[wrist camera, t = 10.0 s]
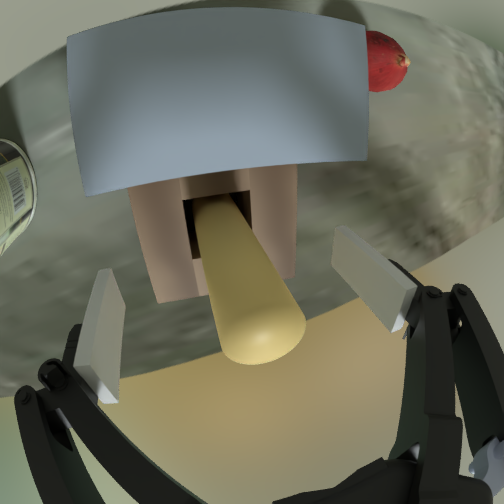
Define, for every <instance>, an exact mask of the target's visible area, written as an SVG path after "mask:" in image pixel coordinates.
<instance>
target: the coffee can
mask: <svg viewBox="0 0 504 504" xmlns="http://www.w3.org/2000/svg"><path fill="white" fill-rule="evenodd" d="M36 202H37V186H36V179H35V174H34V171H33V168H32V165H31V163H30V161H29V159H28V157H27V155H26V154H25V153H24V152H23V150H22V149H21V148H20V147H19V146H18V145H17V144H15V143H14V142H12V141H9V140H6V139H0V256H1V255H2V254H3V253H4V251H5V250H6V249H7V248H8V247H9V245H10V244H11V243H12V242H13V241H14V240H15V239H16V237H17V236H18V235H19V234H21V233H22V232H23V231H24V230H25V229H26V228H27V227H28V225H29V223H30V222H31V220H32V218H33V215H34V212H35V208H36Z"/></svg>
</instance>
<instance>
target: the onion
mask: <svg viewBox="0 0 504 504" xmlns="http://www.w3.org/2000/svg"><path fill="white" fill-rule="evenodd" d="M366 42H367V57H368V82H369V91H373V92H380V91H386V90H391V89H393V88H395V87H396V86H397V85H398V84H399V83H400V82H401V81H402V80H403V78H404V76H405V74H406V72H407V66H409V64H410V63H411V62H410V60H409V59H408V57H407V56H406V54H405V52H404V50H403V49H402V48H401V46H400V45H399V44H398V43H397V42H396V41H395V40H394V39H393V38H391V37H389V36H387V35H385V34H383V33H381V32H377V31H366Z"/></svg>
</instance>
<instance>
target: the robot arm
mask: <svg viewBox="0 0 504 504" xmlns="http://www.w3.org/2000/svg"><path fill="white" fill-rule="evenodd" d="M331 266H332V267H333V268H334V269H335V270H336V271H337V272H338V273H339V275H340V276H341V277H342V278H343V279H344V280H345V281H346V282H347V283H348V284H349V286H350V287H351V288H352V289H353V290H354V291H355V292H356V293H357V294H358V296H359V297H360V298H361V299H362V300H363V301H364V302H365V304H366V305H367V306H368V307H369V308H370V309H371V310H372V312H373V313H374V314H375V315H376V316H377V317H378V318H379V320H380V321H381V322H382V323H383V324H384V325H385V327H386V328H387V329H388V330H389V331H390V332H391V333H392V332H394V331H396V330H398V329H401V328H402V326H403V323H404V321H405V320H406V321H407V322H408V323H409V325H408V327H407V329H406V332H405V334H404V336H403V339H405V337H406V336H407V349H406V367H405V379H404V390H403V398H402V407H401V413H400V420H399V426H398V432H397V437H396V441H395V444H394V446H393V448H392V450H391V452H390V454H389V457H388V460H384V459H383V458H382V457H381V458H379V459H377V460H375V461H373V462H372V463H370V464H368V465H366V466H364V467H362V468H360V469H358V470H357V471H356V472H354V473H353V474H352V475H350V476H349V477H348V478H347V479H345V480H344V481H342V482H341V483H340V484H338V485H337V486H336V487H334V488H330V489H324V490H317V491H310V492H303V493H299V494H296V495H293V496H290V497H287V498H283V499H280V500H277V501H273V502H272V504H493V497H494V496H495V495H496V494H497V493H498V492H499V491H500V490H501V489H502V488H503V487H504V354H503V351H502V349H501V347H500V344H499V342H498V340H497V338H496V336H495V334H494V332H493V330H492V328H491V326H490V324H489V322H488V320H487V318H486V316H485V314H484V312H483V310H482V309H481V307H480V305H479V303H478V301H477V300H476V298H475V296H474V294H473V293H472V291H471V290H470V288H468V287H467V286H466V285H464V284H459V283H458V284H455V285H453V287H452V290H451V292H444V293H443V292H442V291H441V290H440V289H438V288H436V287H434V286H423V285H422V284H421V283H420V282H419V281H418V280H417V279H416V278H414V277H413V276H412V275H411V274H410V273H408V271H406V270H405V269H403V267H402V266H401V265H399V264H398V263H397V262H395V261H393V260H391V259H386V258H385V257H384V256H383V255H381V254H380V253H379V252H378V251H377V250H375V249H374V248H373V247H372V246H371V245H369V244H368V243H367V242H366V241H364V240H363V239H362V238H361V237H359V236H358V235H357V234H356V233H354V232H353V231H352V230H351V229H349V228H348V227H347V226H346V225H344V226H338V227H335V231H334V241H333V250H332V259H331ZM125 308H126V306H125V303H124V301H123V299H122V296H121V293H120V291H119V288H118V286H117V283H116V280H115V278H114V275H113V272H112V269H111V268H107V269H102V270H99V271H98V274H97V277H96V280H95V283H94V286H93V289H92V292H91V296H90V299H89V303H88V306H87V310H86V313H85V317H84V321H83V324H76V325H74V327H73V328H72V329H71V331H70V332H69V335H68V339H67V343H66V347H65V348H66V349H65V351H64V355H63V359H62V362H61V361H60V360H59V359H55V358H53V359H49V360H47V361H45V362H44V363H43V364H42V365H41V367H40V369H39V371H38V379H39V381H40V382H41V383H42V384H43V385H44V386H45V388H43V389H41V390H38V391H35V390H34V389H33V388H32V387H31V386H28V385H26V386H22V387H21V388H20V389H19V390H18V391H17V392H16V394H15V397H14V404H15V410H16V415H17V420H18V425H19V430H20V434H21V439H22V443H23V446H24V450H25V454H26V457H27V461H28V463H29V467H30V470H31V473H32V476H33V479H34V482H35V484H36V487H37V489H38V492H39V495H40V497H41V499H42V502H43V504H105V502H104V501H103V499H102V497H101V495H100V494H99V492H98V490H97V488H96V486H95V485H94V483H93V481H92V479H91V477H90V475H89V473H88V471H87V469H86V467H85V465H84V463H83V461H82V458H81V456H80V454H79V452H78V449H77V447H76V445H75V442H74V440H73V438H72V435H71V432H70V430H69V428H71V427H72V428H73V429H74V430H75V432H76V433H77V435H78V436H79V437H80V439H81V440H82V441H83V443H84V444H85V445H86V447H87V448H88V449H89V450H90V452H91V453H92V454H93V455H94V457H95V458H96V459H97V460H98V461H99V463H100V464H101V465H102V466H103V467H104V468H105V469H106V470H107V472H108V473H109V474H110V475H111V476H112V477H113V478H114V479H115V480H116V482H117V483H118V484H119V485H120V486H121V487H122V488H123V489H124V490H125V491H126V492H127V493H128V494H129V495H130V496H131V497H132V498H133V499H135V500H136V501H137V502H138V503H139V504H208V503H206V502H205V501H203V500H202V499H200V498H199V497H198V496H196V495H195V494H193V493H192V492H190V491H189V490H188V489H186V488H185V487H184V486H182V485H181V484H180V483H178V482H177V481H175V479H173V478H172V477H171V476H170V475H168V474H167V473H166V472H165V471H163V470H162V469H161V468H160V467H159V466H157V465H156V464H155V463H154V462H153V461H152V460H150V459H149V458H148V457H147V456H146V455H145V454H144V453H143V452H142V451H141V450H140V449H138V447H137V446H135V445H134V444H133V443H132V442H131V441H130V440H129V439H128V438H127V437H126V436H125V435H124V434H123V433H122V432H121V431H120V430H119V429H118V427H117V426H116V425H115V424H114V423H113V422H112V421H111V420H110V419H109V417H108V416H107V415H106V414H105V413H104V412H103V411H102V410H101V409H100V407H99V406H98V405H97V402H98V398H99V399H100V400H101V401H102V402H103V404H106V403H119V375H120V358H121V345H122V334H123V325H124V316H125ZM460 320H461V321H462V326H461V327H460V325H459V322H460ZM455 384H456V388H457V391H458V396H459V400H460V403H461V408H462V412H463V417H464V422H465V428H466V433H467V438H468V443H469V447H470V450H471V453H472V456H473V458H474V459H473V462H471V464H470V465H469V472H470V473H471V474H474V478H472V477H467V476H462V475H459V468H460V459H461V448H462V432H463V424H462V419H461V418H460V417H456V415H455Z"/></svg>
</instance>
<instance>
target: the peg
mask: <svg viewBox="0 0 504 504" xmlns="http://www.w3.org/2000/svg"><path fill="white" fill-rule="evenodd" d="M191 207H192V213H193V218H194V224H195V229H196V234H197V239H198V245H199V250H200V255H201V260H202V264H203V269H204V274H205V279H206V283H207V288H208V292H209V297H210V301H211V306H212V310H213V314H214V319H215V323H216V327H217V331H218V335H219V339H220V344H221V347H222V350H223V352H224V354H225V355H226V356H227V357H228V358H229V359H231V360H233V361H235V362H238V363H241V364H250V365H251V364H262V363H266V362H270V361H273V360H275V359H277V358H279V357H281V356H283V355H285V354H286V353H288V352H289V351H290V350H292V349H293V348H294V347H295V346H296V345H297V344H298V342H299V341H300V340H301V338H302V336H303V335H304V332H305V328H306V319H305V316H304V314H303V313H302V311H301V309H300V308H299V306H298V304H297V303H296V301H295V300H294V298H293V296H292V295H291V293H290V291H289V290H288V288H287V286H286V285H285V283H284V282H283V280H282V278H281V277H280V275H279V273H278V272H277V270H276V268H275V267H274V265H273V264H272V262H271V260H270V259H269V257H268V256H267V254H266V252H265V251H264V249H263V247H262V246H261V244H260V243H259V241H258V239H257V238H256V236H255V235H254V233H253V231H252V230H251V228H250V226H249V225H248V223H247V222H246V220H245V218H244V217H243V215H242V214H241V212H240V210H239V209H238V207H237V206H236V204H235V202H234V201H233V199H232V198H231V196H230V195H229V193H224V194H217V195H211V196H204V197H198V198H192V202H191Z"/></svg>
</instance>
